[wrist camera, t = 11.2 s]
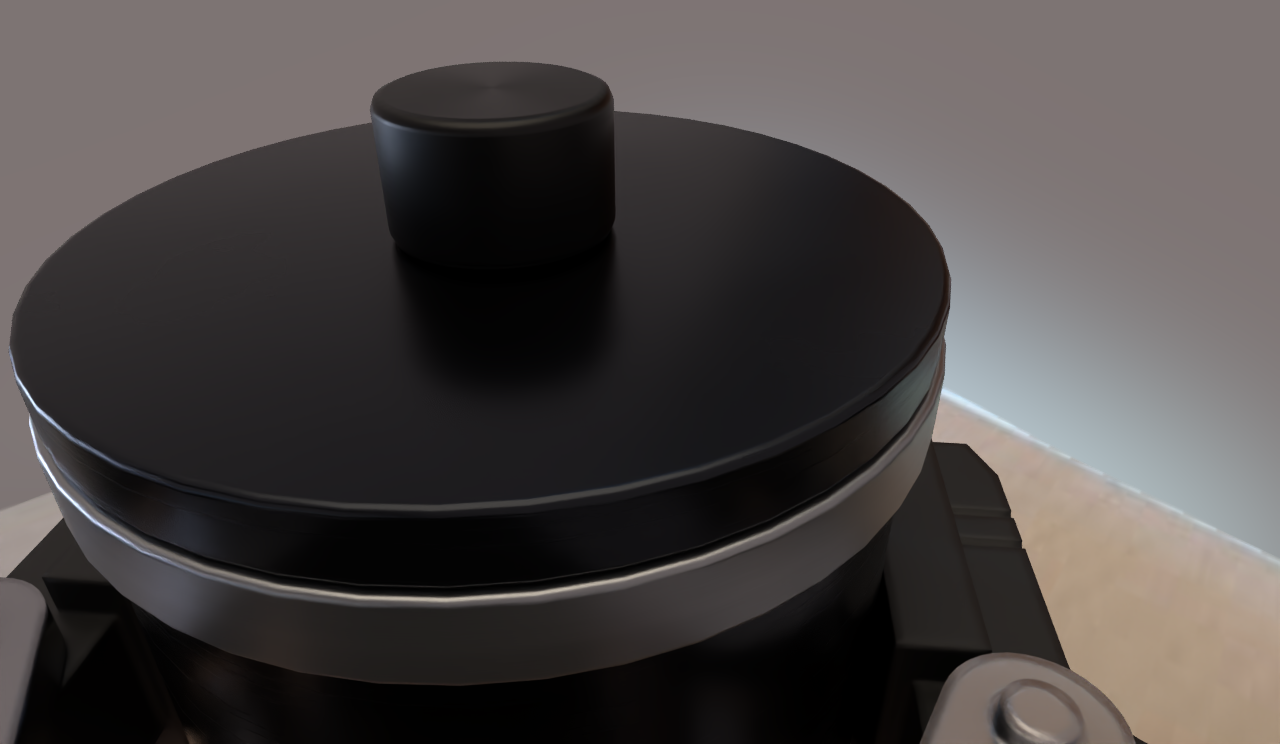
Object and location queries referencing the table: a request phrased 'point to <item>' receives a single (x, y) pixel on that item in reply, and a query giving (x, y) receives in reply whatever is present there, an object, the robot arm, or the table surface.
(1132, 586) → the table surface
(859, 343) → the pot
